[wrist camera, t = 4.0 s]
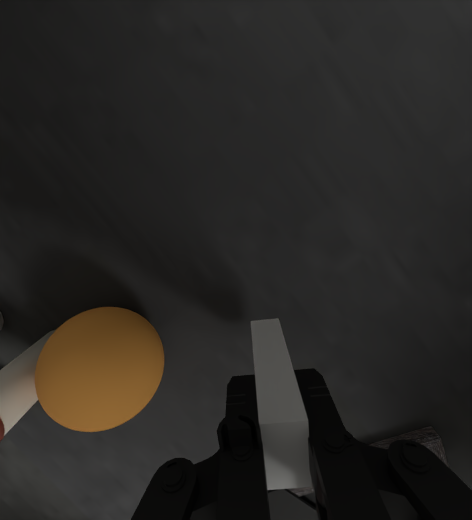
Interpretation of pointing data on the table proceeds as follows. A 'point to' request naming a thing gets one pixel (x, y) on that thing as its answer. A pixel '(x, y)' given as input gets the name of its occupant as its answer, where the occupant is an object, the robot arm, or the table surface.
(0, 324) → the pin
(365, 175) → the table surface
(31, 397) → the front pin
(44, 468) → the table surface
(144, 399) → the ball
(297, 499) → the picture frame
